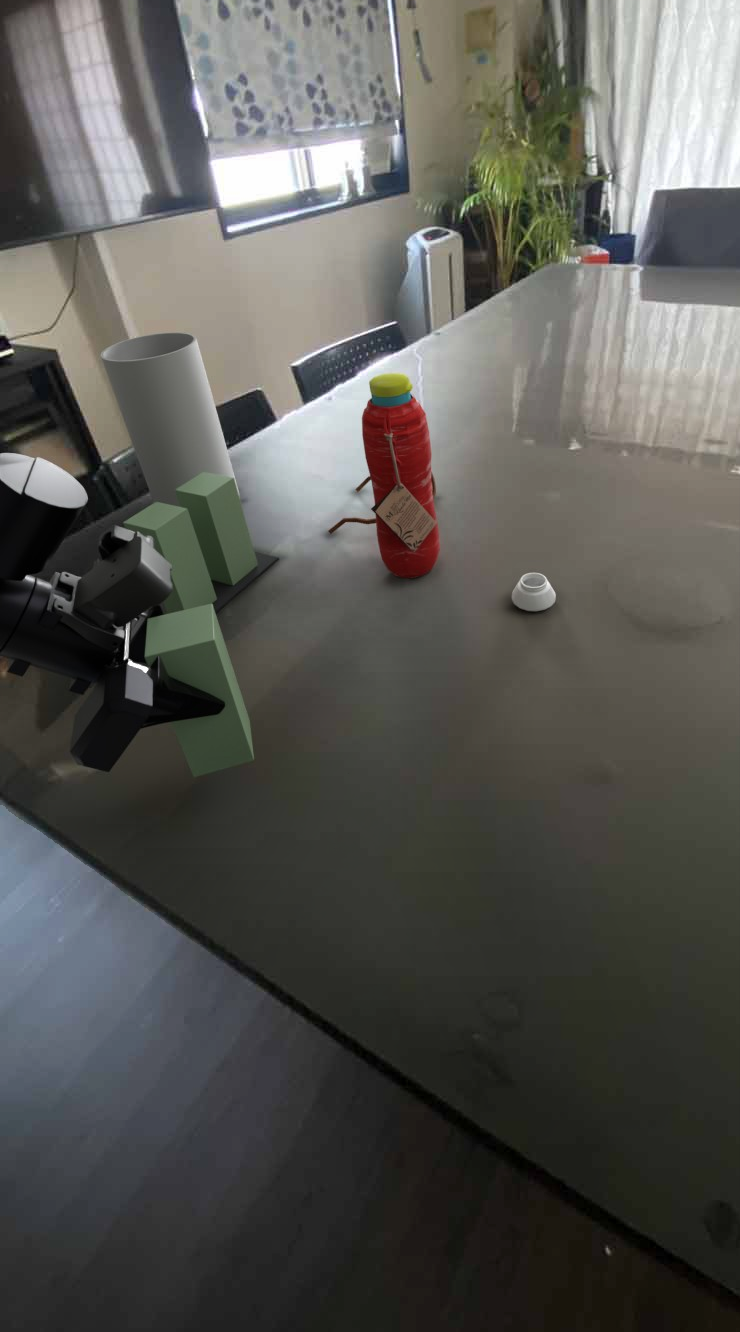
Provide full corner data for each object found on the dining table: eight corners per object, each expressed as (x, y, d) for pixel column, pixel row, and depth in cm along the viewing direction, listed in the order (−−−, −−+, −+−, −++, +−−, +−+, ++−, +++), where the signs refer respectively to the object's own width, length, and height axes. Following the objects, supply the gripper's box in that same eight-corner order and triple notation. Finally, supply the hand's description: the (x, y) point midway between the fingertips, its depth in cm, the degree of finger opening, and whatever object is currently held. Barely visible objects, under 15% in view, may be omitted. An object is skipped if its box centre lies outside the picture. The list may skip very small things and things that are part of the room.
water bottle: (440, 601, 81) (421, 400, 67) (374, 603, 82) (341, 404, 68) (445, 546, 91) (429, 360, 77) (386, 548, 92) (359, 364, 78)
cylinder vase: (252, 487, 110) (211, 330, 96) (222, 528, 100) (170, 359, 86) (181, 488, 112) (130, 334, 98) (144, 528, 102) (81, 363, 88)
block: (193, 778, 56) (144, 656, 49) (192, 735, 60) (147, 618, 53) (254, 760, 57) (214, 639, 50) (249, 720, 61) (212, 603, 54)
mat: (130, 685, 74) (130, 683, 73) (81, 666, 77) (80, 664, 77) (279, 559, 92) (278, 557, 92) (233, 548, 95) (233, 546, 95)
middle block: (188, 622, 81) (154, 530, 74) (158, 613, 84) (122, 522, 76) (217, 599, 85) (187, 508, 78) (187, 590, 87) (156, 501, 80)
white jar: (524, 583, 83) (504, 606, 79) (524, 563, 81) (503, 585, 78) (562, 595, 80) (543, 618, 77) (563, 574, 78) (543, 598, 75)
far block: (233, 585, 87) (205, 496, 80) (204, 577, 89) (174, 489, 82) (258, 565, 91) (233, 477, 83) (229, 557, 93) (203, 471, 85)
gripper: (55, 604, 37) (293, 692, 46) (85, 468, 52) (261, 554, 61) (-35, 744, 40) (206, 802, 49) (18, 577, 55) (195, 644, 64)
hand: (220, 686), depth 55 cm, fingers closed on block, 5 cm apart
